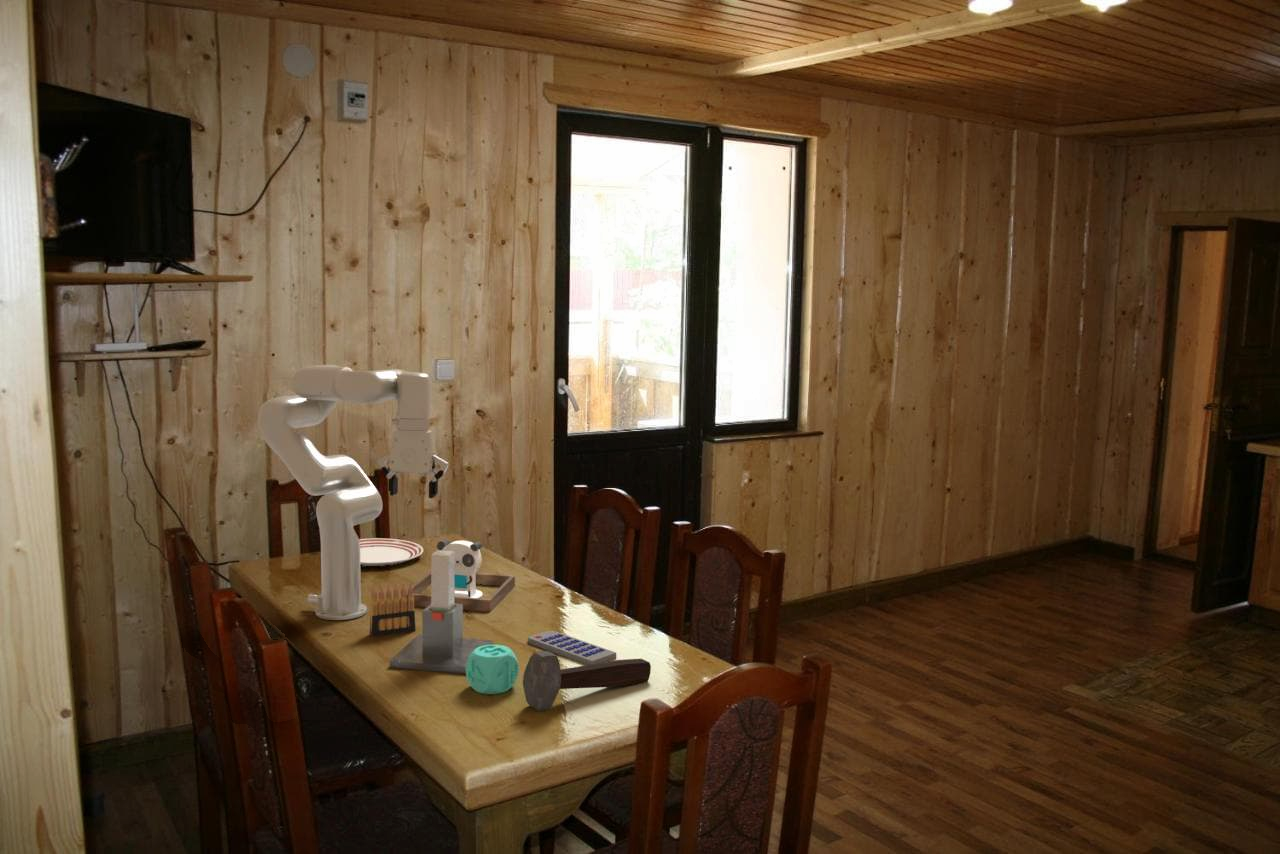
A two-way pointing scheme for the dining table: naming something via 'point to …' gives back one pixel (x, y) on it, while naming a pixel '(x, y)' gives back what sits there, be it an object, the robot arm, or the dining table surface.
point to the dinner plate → (387, 551)
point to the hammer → (576, 677)
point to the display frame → (468, 603)
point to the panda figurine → (464, 566)
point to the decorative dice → (492, 669)
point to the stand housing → (439, 644)
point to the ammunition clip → (392, 612)
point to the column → (442, 580)
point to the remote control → (571, 647)
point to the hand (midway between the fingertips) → (413, 495)
